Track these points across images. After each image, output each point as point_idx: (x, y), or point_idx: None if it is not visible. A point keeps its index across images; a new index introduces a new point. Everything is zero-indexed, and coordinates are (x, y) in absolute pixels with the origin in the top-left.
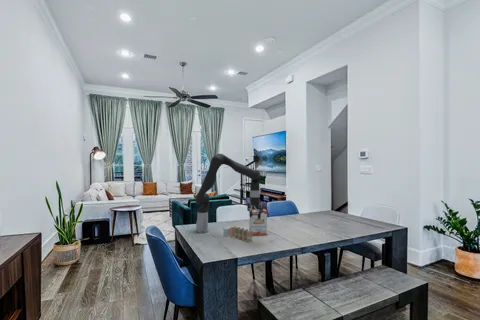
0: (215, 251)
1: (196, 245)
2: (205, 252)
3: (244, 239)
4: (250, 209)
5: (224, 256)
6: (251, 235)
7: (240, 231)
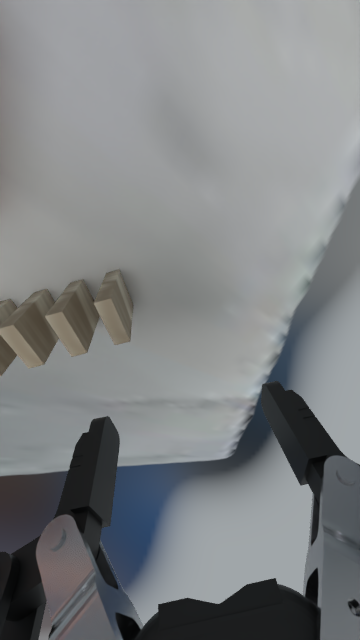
0: (173, 432)
1: None
2: (166, 450)
3: (96, 312)
4: (129, 622)
5: (225, 422)
6: (119, 293)
7: (45, 347)
